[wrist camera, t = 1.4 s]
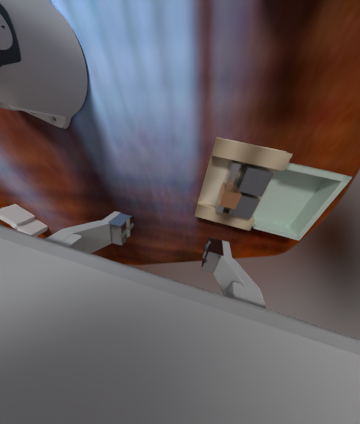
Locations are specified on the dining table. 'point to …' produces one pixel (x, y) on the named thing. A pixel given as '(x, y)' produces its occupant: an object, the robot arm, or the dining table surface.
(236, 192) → the block
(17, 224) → the white stepped block
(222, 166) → the slot board
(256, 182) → the dark grey block
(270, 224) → the tray
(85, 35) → the dining table surface
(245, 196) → the chip
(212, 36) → the dining table surface
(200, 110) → the dining table surface
